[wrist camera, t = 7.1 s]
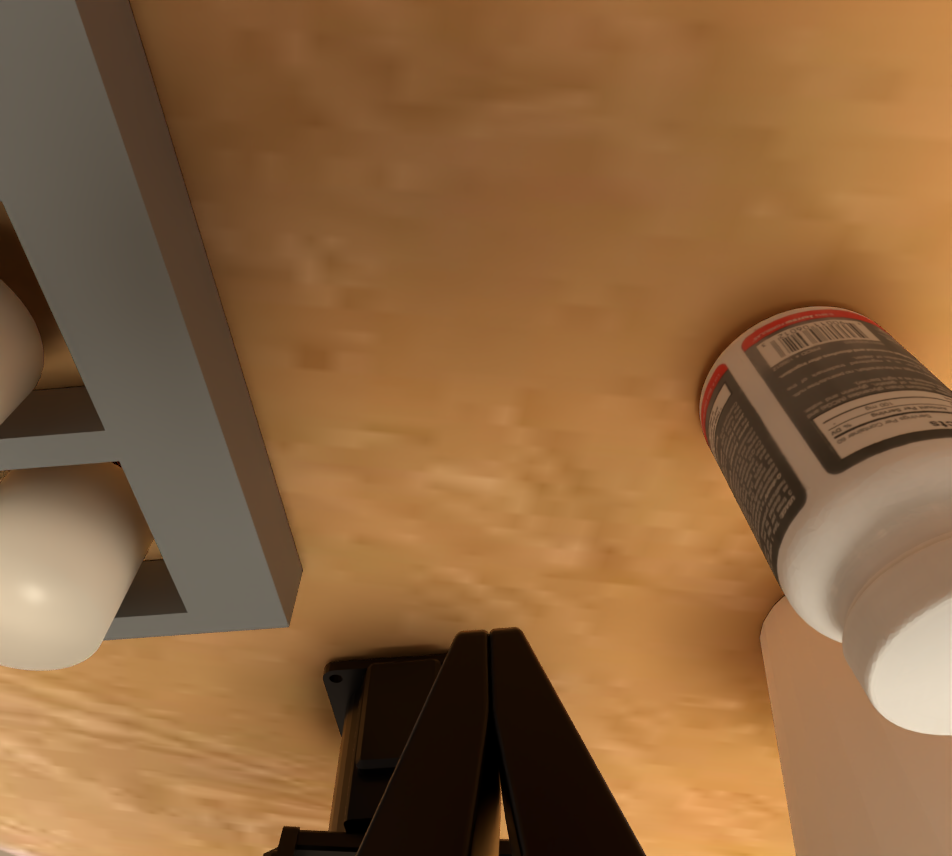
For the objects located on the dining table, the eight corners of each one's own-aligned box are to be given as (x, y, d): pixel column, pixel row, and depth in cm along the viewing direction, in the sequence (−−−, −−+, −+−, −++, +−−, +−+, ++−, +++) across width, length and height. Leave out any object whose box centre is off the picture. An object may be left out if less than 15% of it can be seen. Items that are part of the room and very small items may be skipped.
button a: (177, 556, 24) (129, 664, 20) (42, 566, 24) (-30, 675, 21) (128, 443, 21) (63, 545, 18) (-24, 456, 22) (-118, 559, 18)
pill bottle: (794, 488, 24) (970, 781, 16) (655, 419, 22) (772, 706, 14) (933, 353, 21) (1238, 622, 13) (787, 262, 19) (1029, 504, 11)
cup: (1082, 513, 25) (1525, 926, 14) (933, 721, 31) (1164, 1105, 21) (741, 498, 24) (953, 920, 14) (663, 714, 31) (766, 1107, 20)
